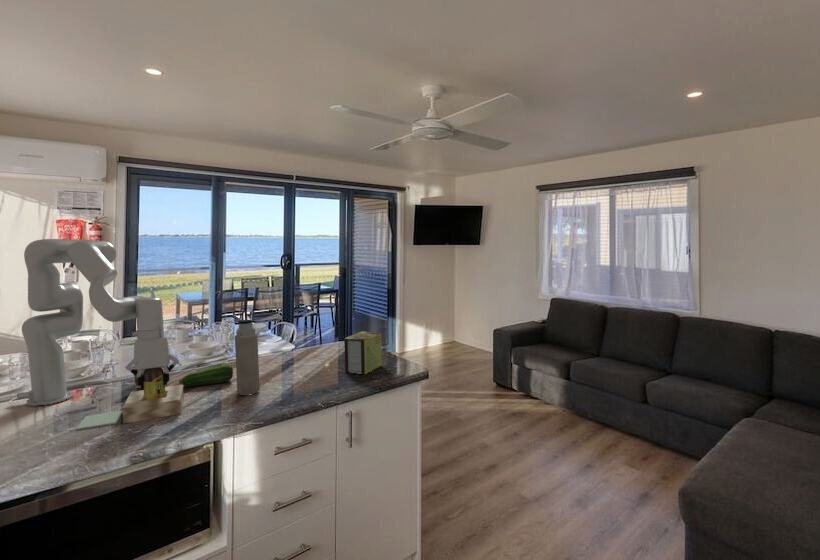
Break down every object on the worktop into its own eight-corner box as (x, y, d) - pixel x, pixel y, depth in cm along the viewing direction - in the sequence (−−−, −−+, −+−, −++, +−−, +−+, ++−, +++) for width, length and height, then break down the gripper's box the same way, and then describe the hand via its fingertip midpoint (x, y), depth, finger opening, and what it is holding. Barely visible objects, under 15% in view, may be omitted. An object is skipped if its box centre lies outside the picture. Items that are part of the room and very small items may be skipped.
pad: (76, 430, 124) (76, 428, 124) (85, 417, 133) (85, 416, 133) (116, 423, 128) (116, 422, 128) (122, 411, 137) (122, 410, 137)
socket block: (123, 423, 128) (122, 408, 128) (132, 405, 143) (131, 391, 142) (180, 413, 135) (180, 399, 135) (183, 397, 150) (183, 384, 149)
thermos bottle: (249, 387, 160) (245, 317, 158) (264, 390, 157) (261, 319, 154) (232, 394, 153) (229, 321, 150) (248, 397, 150) (244, 322, 147)
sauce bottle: (161, 412, 136) (157, 355, 134) (141, 414, 135) (136, 356, 134) (169, 405, 143) (165, 350, 141) (150, 406, 142) (146, 351, 140)
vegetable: (232, 362, 166) (176, 368, 158) (232, 380, 163) (176, 387, 156) (233, 365, 172) (180, 371, 165) (234, 382, 169) (180, 389, 162)
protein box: (381, 365, 187) (381, 332, 186) (364, 375, 173) (364, 340, 172) (362, 363, 192) (361, 330, 190) (344, 372, 178) (343, 338, 176)
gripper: (117, 339, 129) (121, 393, 131) (179, 333, 137) (182, 385, 139) (122, 334, 136) (126, 386, 138) (180, 329, 144) (183, 378, 145)
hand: (154, 385), depth 138 cm, fingers closed on sauce bottle, 6 cm apart
